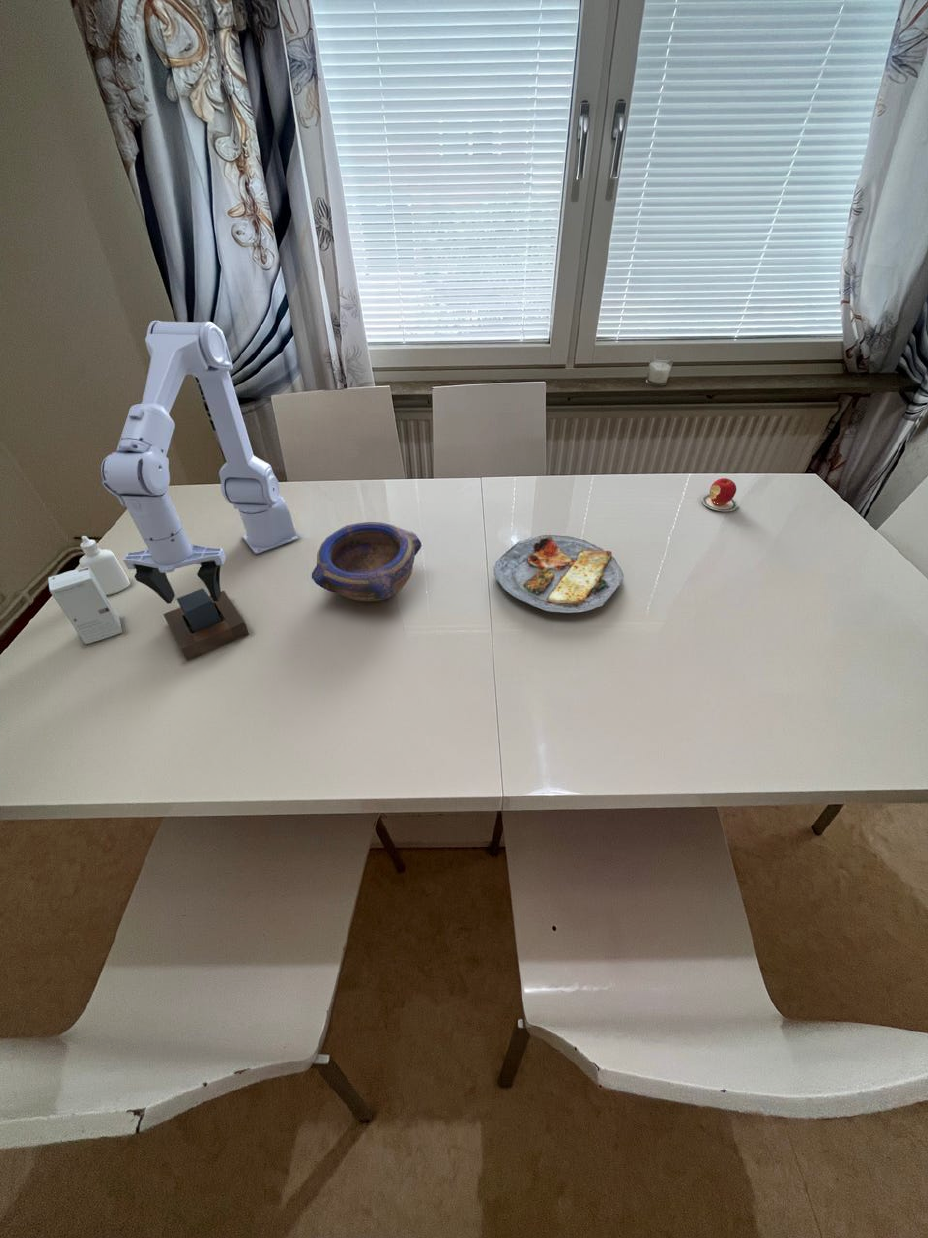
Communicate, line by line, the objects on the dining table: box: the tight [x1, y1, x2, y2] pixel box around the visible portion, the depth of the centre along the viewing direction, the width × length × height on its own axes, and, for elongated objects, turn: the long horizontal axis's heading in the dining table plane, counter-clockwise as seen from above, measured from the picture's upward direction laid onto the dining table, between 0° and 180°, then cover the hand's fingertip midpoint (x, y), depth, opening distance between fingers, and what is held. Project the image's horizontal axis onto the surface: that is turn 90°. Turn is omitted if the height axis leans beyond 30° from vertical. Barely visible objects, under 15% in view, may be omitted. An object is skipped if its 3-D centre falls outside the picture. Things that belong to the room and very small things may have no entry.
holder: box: [162, 590, 250, 662], centre depth 91 cm, size 11×11×3 cm
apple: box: [701, 477, 738, 512], centre depth 121 cm, size 8×8×6 cm
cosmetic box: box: [47, 567, 123, 645], centre depth 87 cm, size 6×4×12 cm
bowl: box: [311, 521, 422, 602], centre depth 97 cm, size 18×18×10 cm
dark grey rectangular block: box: [176, 587, 222, 633], centre depth 89 cm, size 4×4×7 cm
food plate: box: [492, 534, 624, 614], centre depth 101 cm, size 25×23×4 cm
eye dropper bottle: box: [79, 535, 131, 596], centre depth 96 cm, size 4×6×12 cm
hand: (194, 598), depth 87 cm, fingers open, 7 cm apart
